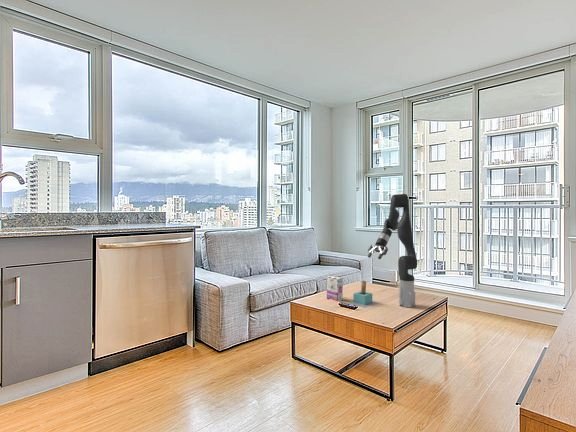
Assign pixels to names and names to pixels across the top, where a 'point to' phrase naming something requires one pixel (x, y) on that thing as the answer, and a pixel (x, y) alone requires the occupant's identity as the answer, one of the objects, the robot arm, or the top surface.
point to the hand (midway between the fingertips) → (373, 257)
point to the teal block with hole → (362, 298)
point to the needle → (363, 288)
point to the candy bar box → (334, 288)
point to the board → (363, 305)
